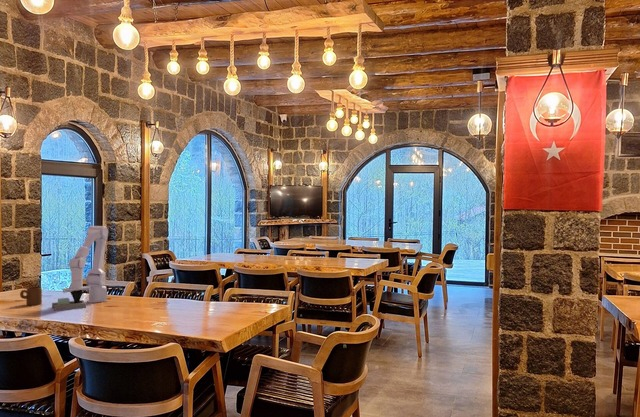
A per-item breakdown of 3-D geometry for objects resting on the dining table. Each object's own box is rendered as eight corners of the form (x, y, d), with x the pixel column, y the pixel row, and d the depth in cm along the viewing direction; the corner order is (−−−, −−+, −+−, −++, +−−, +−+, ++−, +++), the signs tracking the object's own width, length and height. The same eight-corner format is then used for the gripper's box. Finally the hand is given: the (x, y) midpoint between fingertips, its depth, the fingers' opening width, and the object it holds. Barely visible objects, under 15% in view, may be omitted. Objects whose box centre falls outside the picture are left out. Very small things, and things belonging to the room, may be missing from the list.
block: (67, 306, 296) (67, 297, 296) (69, 308, 292) (69, 299, 292) (57, 307, 293) (57, 298, 293) (59, 309, 289) (59, 300, 289)
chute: (82, 304, 303) (82, 300, 303) (86, 307, 294) (86, 303, 294) (51, 307, 294) (51, 302, 294) (54, 310, 286) (54, 305, 286)
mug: (24, 307, 292) (24, 290, 292) (15, 306, 296) (15, 289, 296) (44, 304, 303) (44, 287, 303) (35, 302, 306) (35, 286, 306)
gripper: (86, 277, 304) (86, 301, 304) (60, 280, 293) (60, 305, 293) (92, 279, 300) (92, 303, 300) (66, 281, 289) (65, 306, 289)
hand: (76, 304), depth 296 cm, fingers closed
